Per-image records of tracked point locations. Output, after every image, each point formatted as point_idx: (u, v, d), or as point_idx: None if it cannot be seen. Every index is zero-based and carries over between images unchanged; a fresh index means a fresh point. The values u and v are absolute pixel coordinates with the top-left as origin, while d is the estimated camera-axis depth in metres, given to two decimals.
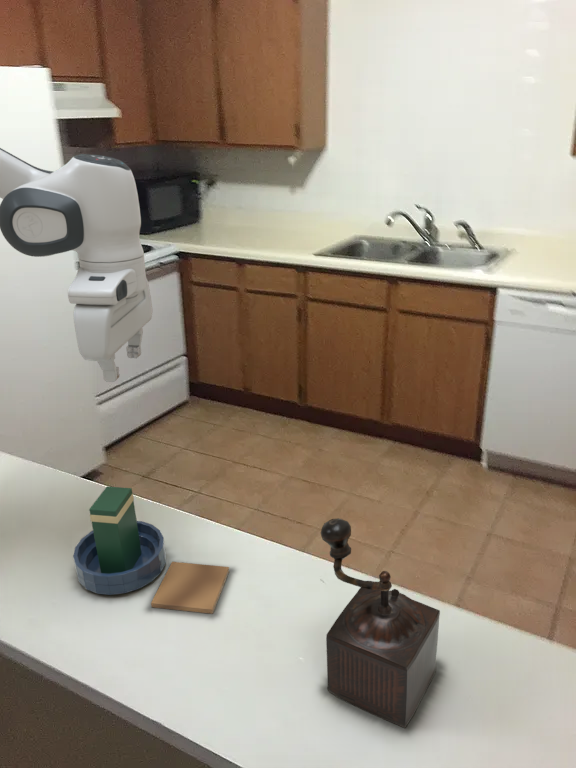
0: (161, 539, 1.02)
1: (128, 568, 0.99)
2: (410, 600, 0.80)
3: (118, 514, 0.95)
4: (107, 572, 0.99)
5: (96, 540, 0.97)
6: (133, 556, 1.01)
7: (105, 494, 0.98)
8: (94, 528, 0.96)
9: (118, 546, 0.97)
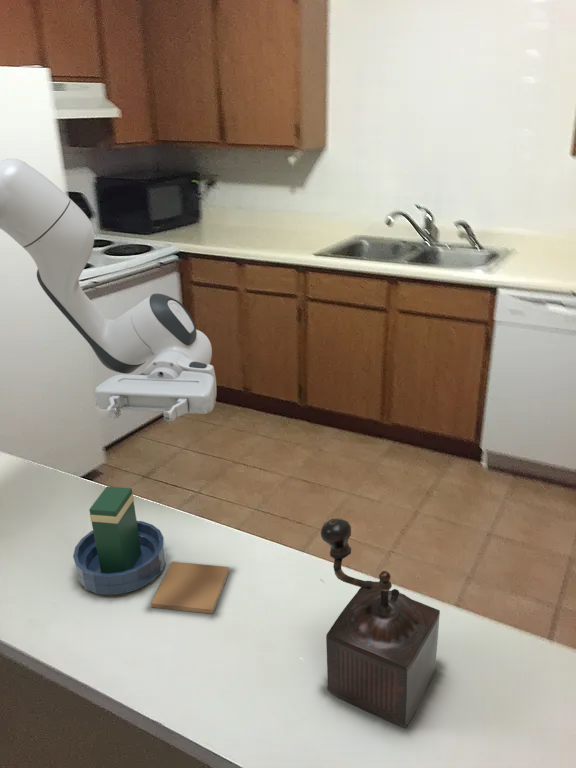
0: (161, 539, 1.02)
1: (128, 568, 0.99)
2: (410, 600, 0.80)
3: (118, 514, 0.95)
4: (107, 572, 0.99)
5: (96, 540, 0.97)
6: (133, 556, 1.01)
7: (105, 494, 0.98)
8: (94, 528, 0.96)
9: (118, 546, 0.97)
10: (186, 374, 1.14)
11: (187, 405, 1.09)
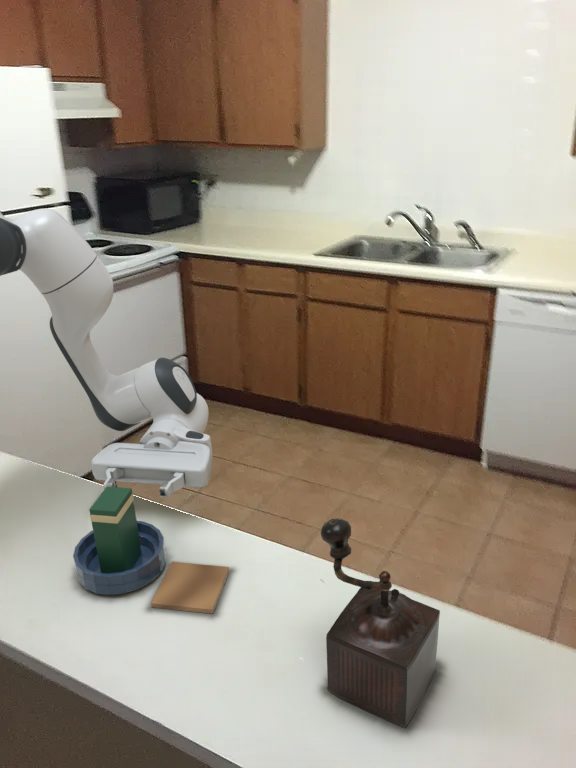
0: (161, 539, 1.02)
1: (128, 568, 0.99)
2: (410, 600, 0.80)
3: (118, 514, 0.95)
4: (107, 572, 0.99)
5: (96, 540, 0.97)
6: (133, 556, 1.01)
7: (105, 494, 0.98)
8: (94, 528, 0.96)
9: (118, 546, 0.97)
10: (182, 445, 1.14)
11: (183, 479, 1.09)
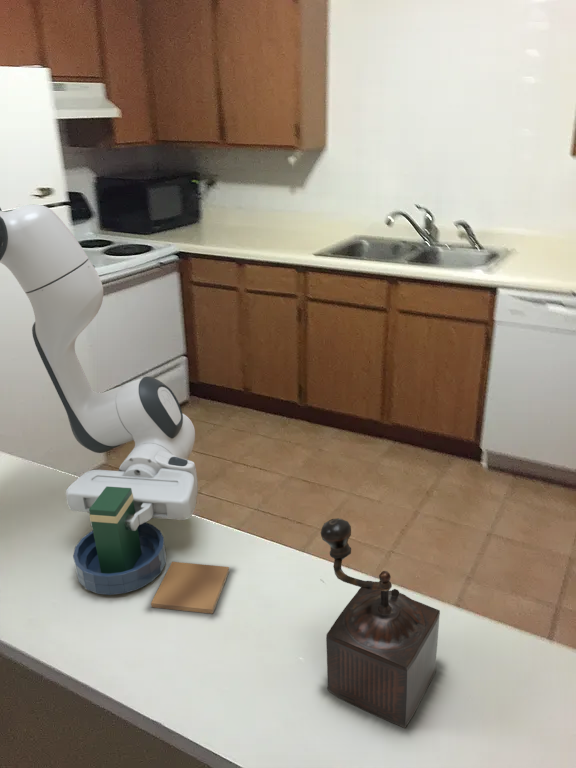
0: (161, 539, 1.02)
1: (128, 568, 0.99)
2: (410, 600, 0.80)
3: (118, 514, 0.95)
4: (107, 572, 0.99)
5: (96, 540, 0.97)
6: (133, 556, 1.01)
7: (105, 494, 0.98)
8: (94, 528, 0.96)
9: (118, 545, 0.97)
10: (164, 473, 1.06)
11: (151, 510, 1.01)
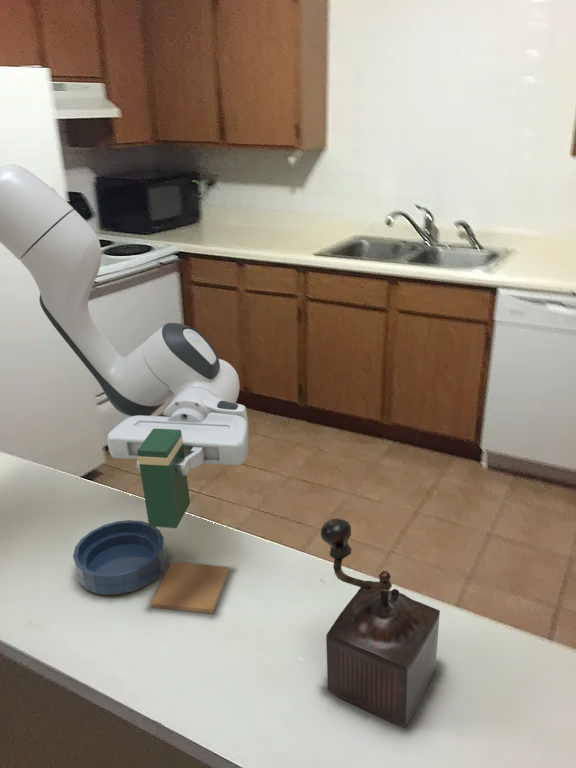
0: (161, 539, 1.02)
1: (178, 517, 0.91)
2: (410, 600, 0.80)
3: (169, 455, 0.86)
4: (155, 521, 0.91)
5: (144, 485, 0.88)
6: (182, 504, 0.92)
7: (153, 435, 0.89)
8: (142, 472, 0.87)
9: (168, 491, 0.88)
10: (214, 417, 0.97)
11: (202, 455, 0.93)
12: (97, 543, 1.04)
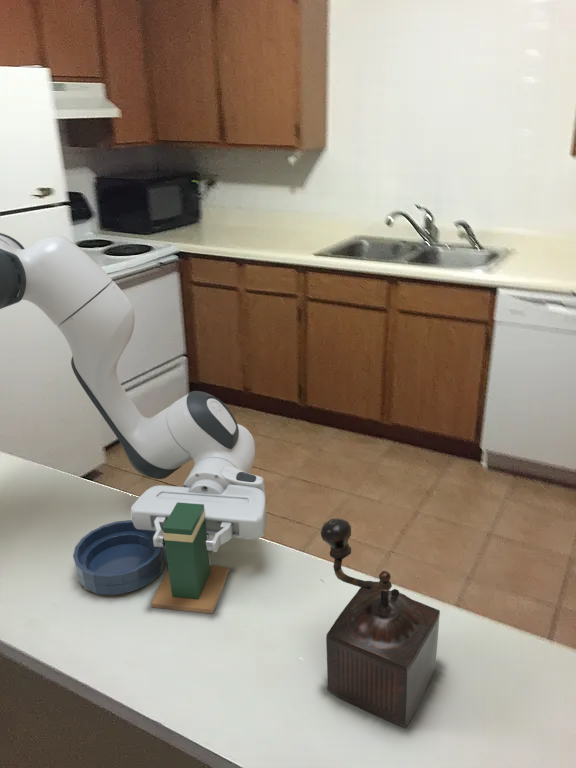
0: None
1: (200, 588, 0.95)
2: (410, 600, 0.80)
3: (193, 532, 0.90)
4: (178, 593, 0.94)
5: (168, 559, 0.92)
6: (204, 575, 0.96)
7: (177, 511, 0.93)
8: (167, 547, 0.91)
9: (191, 565, 0.92)
10: (233, 489, 1.01)
11: (231, 530, 0.96)
12: (97, 543, 1.04)
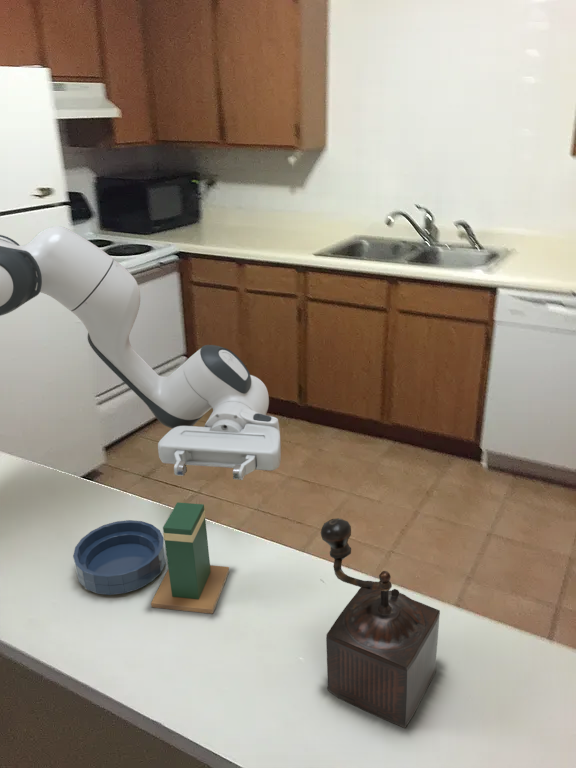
0: (161, 539, 1.02)
1: (200, 588, 0.95)
2: (410, 600, 0.80)
3: (193, 532, 0.90)
4: (178, 593, 0.94)
5: (168, 559, 0.92)
6: (204, 575, 0.96)
7: (177, 511, 0.93)
8: (167, 547, 0.91)
9: (191, 565, 0.92)
10: (250, 428, 1.11)
11: (255, 462, 1.06)
12: (97, 543, 1.04)
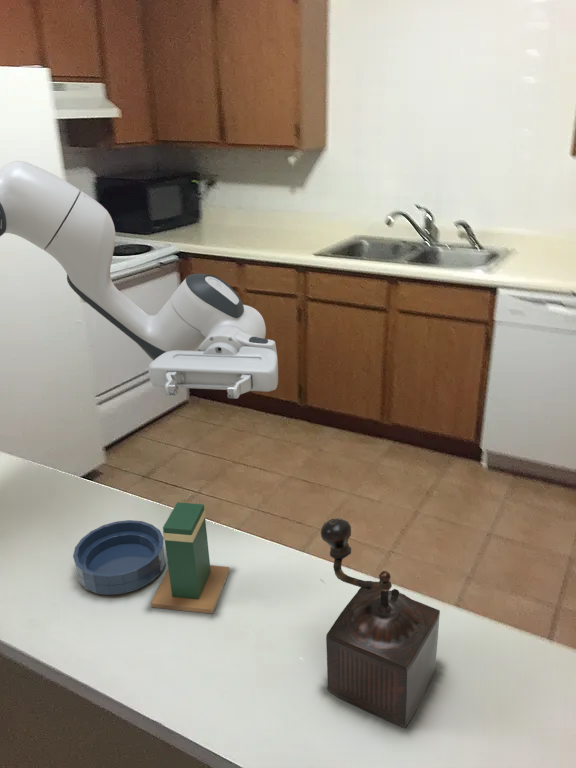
0: (161, 539, 1.02)
1: (200, 588, 0.95)
2: (410, 600, 0.80)
3: (193, 532, 0.90)
4: (178, 593, 0.94)
5: (168, 559, 0.92)
6: (204, 575, 0.96)
7: (177, 511, 0.93)
8: (167, 547, 0.91)
9: (191, 565, 0.92)
10: (246, 350, 1.05)
11: (250, 382, 1.00)
12: (97, 543, 1.04)
